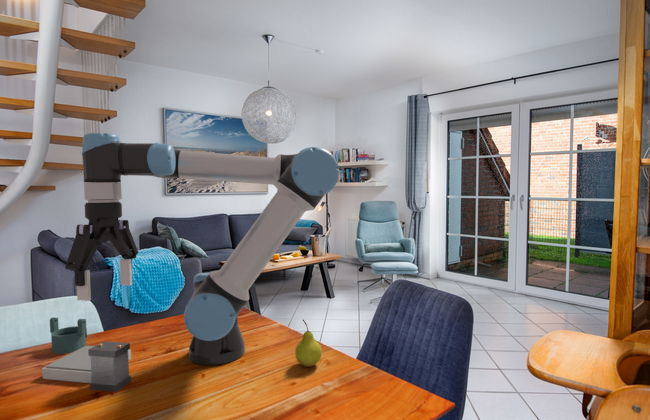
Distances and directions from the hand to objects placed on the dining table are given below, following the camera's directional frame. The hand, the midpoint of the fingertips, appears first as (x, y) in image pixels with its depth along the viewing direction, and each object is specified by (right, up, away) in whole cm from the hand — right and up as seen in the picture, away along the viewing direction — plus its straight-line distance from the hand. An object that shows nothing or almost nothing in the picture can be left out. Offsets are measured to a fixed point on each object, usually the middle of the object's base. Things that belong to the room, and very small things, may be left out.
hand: (106, 292), depth 93 cm
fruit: (+47, -22, +11) cm, 53 cm away
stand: (-10, -22, +10) cm, 26 cm away
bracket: (-24, -22, +24) cm, 40 cm away
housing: (0, -22, +1) cm, 22 cm away
